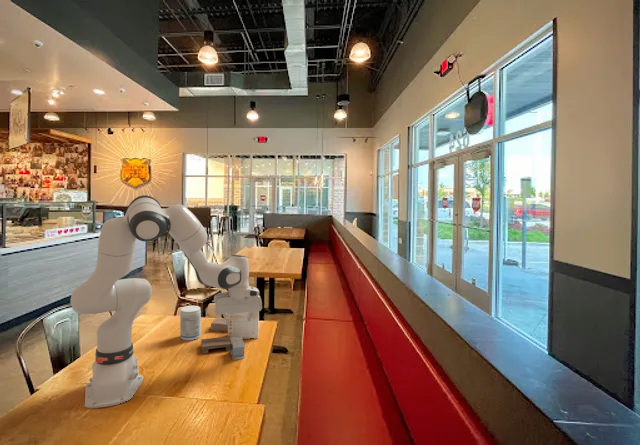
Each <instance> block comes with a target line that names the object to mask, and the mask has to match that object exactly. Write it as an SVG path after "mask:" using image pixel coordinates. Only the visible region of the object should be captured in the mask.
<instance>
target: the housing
mask: <svg viewBox="0 0 640 445" xmlns="http://www.w3.org/2000/svg"><path fill="white" fill-rule="evenodd" d="M245 347H246V346H245V342H244V339H242V337H241V336H240V337H232V338H230V350H229V352H230V356H231V358H232V361H236V360H243V359H245Z"/></svg>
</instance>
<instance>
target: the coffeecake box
mask: <svg viewBox="0 0 640 445" xmlns="http://www.w3.org/2000/svg"><path fill="white" fill-rule="evenodd" d="M250 314H251V313H250V312H244V313H232V314H227V319H228V318H229V324H228V332H227V336H230V338H232V337H240V336H241V337H242V339H243V340H245V339H246V340H248V339H249V340H251V339H250V338H254V339H259V331H260V330H259V329H260V324H259V323H260V322H259V320H260V311H255V312H254V315H253V316H252V318H251V321H250V322H248V321H247V319H248V318H247V317H249V316H250Z"/></svg>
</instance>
